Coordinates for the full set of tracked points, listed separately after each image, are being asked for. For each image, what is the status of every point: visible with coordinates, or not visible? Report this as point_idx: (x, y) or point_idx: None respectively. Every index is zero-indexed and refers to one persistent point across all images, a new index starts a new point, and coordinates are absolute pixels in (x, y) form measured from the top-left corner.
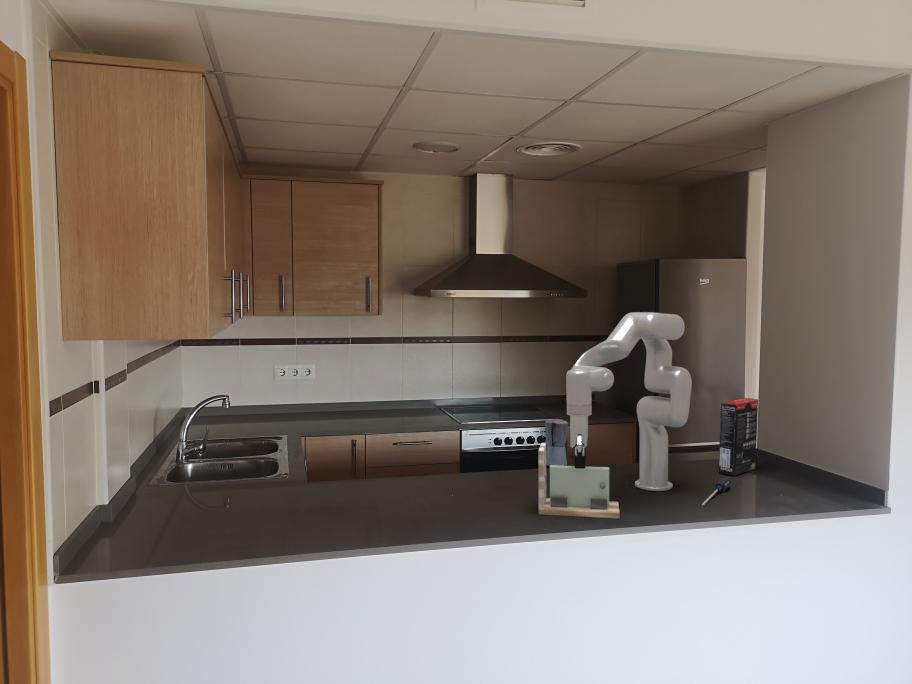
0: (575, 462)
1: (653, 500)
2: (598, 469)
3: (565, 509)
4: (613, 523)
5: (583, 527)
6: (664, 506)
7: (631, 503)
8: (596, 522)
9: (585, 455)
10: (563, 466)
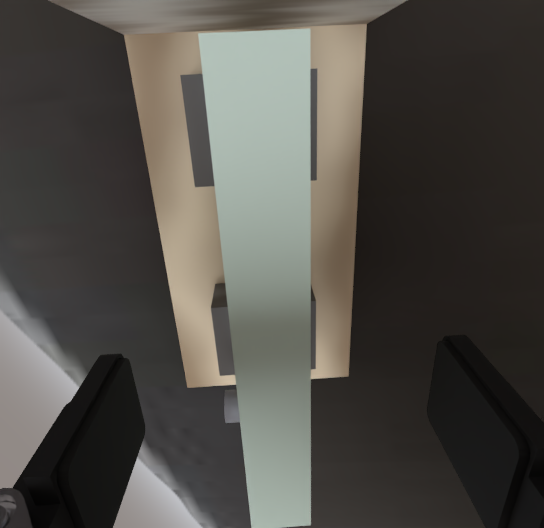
0: (78, 404)
1: (429, 455)
2: (247, 475)
3: (171, 168)
4: (125, 357)
5: (21, 258)
6: (363, 481)
7: (388, 400)
8: (111, 302)
9: (454, 454)
10: (270, 210)
